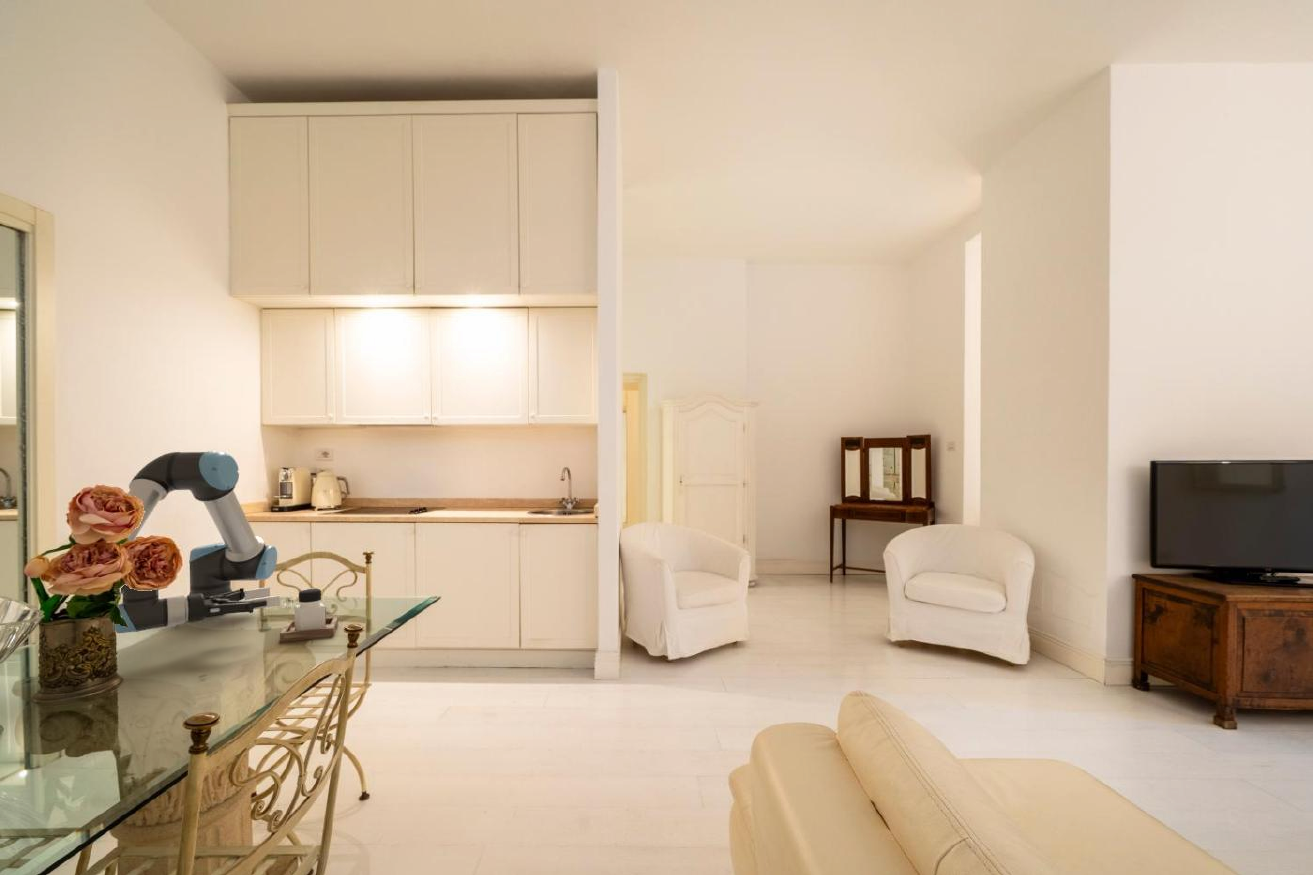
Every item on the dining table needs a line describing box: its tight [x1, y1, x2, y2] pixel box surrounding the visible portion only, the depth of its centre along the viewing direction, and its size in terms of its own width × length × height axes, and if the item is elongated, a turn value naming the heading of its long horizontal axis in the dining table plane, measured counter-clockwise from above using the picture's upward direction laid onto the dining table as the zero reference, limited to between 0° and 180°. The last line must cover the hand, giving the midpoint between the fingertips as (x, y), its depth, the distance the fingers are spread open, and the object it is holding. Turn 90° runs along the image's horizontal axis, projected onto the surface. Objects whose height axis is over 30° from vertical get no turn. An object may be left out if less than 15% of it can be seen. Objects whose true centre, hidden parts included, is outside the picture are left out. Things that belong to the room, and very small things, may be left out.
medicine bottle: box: [294, 587, 327, 631], centre depth 200 cm, size 7×7×12 cm
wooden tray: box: [279, 616, 339, 643], centre depth 200 cm, size 14×14×2 cm
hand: (274, 595), depth 194 cm, fingers open, 13 cm apart
